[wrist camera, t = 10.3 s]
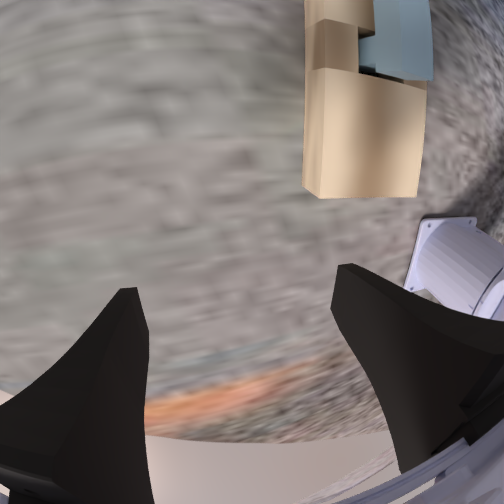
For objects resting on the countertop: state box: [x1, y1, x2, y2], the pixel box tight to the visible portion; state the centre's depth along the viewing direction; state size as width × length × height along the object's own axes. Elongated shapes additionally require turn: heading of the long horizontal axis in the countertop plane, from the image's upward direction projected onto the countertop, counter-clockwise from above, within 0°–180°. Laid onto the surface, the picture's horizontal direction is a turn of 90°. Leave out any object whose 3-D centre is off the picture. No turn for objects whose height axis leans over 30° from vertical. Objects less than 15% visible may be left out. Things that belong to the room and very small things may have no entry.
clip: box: [358, 0, 433, 81], centre depth 12 cm, size 2×10×6 cm, turn 0°
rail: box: [302, 0, 427, 199], centre depth 13 cm, size 8×26×3 cm, turn 0°
